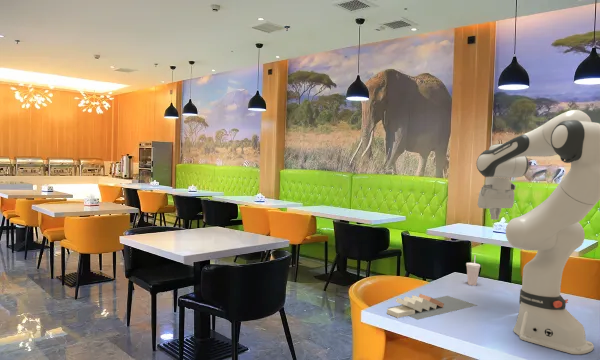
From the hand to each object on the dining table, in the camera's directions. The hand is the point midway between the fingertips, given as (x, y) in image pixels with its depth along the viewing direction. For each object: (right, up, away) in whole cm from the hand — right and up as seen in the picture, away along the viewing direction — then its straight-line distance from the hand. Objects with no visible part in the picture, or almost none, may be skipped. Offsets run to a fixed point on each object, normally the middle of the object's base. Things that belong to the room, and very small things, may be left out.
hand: (494, 219), depth 179 cm
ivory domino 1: (-38, -31, -17) cm, 52 cm away
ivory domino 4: (-28, -32, -10) cm, 44 cm away
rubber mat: (-27, -33, -9) cm, 43 cm away
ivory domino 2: (-35, -31, -15) cm, 49 cm away
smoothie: (+3, -34, +32) cm, 46 cm away
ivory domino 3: (-32, -32, -12) cm, 46 cm away
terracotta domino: (-25, -32, -7) cm, 41 cm away
